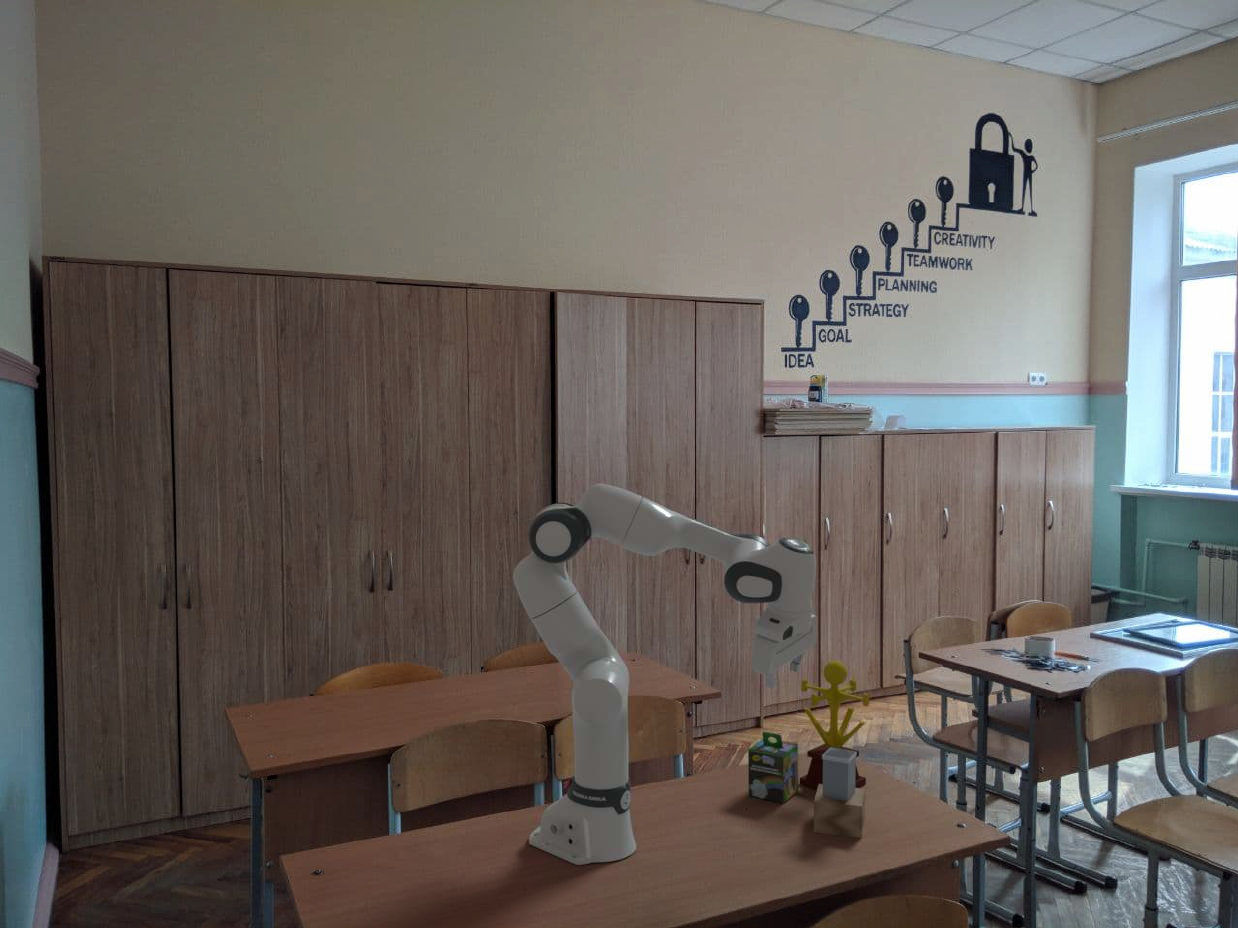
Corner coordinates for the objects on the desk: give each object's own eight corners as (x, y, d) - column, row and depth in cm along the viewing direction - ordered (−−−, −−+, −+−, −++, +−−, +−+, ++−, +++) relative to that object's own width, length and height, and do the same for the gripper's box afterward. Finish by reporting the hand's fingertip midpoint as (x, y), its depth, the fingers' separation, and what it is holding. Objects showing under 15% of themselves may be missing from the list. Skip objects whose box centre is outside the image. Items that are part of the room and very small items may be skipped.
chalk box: (799, 791, 232) (799, 729, 231) (783, 804, 224) (784, 740, 223) (762, 783, 237) (763, 723, 236) (746, 796, 229) (747, 733, 228)
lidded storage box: (821, 796, 211) (822, 755, 211) (830, 787, 216) (830, 747, 216) (848, 801, 208) (848, 759, 208) (856, 792, 213) (856, 751, 213)
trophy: (793, 772, 244) (794, 653, 242) (855, 772, 244) (857, 653, 242) (805, 795, 229) (806, 668, 228) (871, 795, 229) (873, 668, 228)
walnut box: (813, 832, 209) (814, 800, 209) (818, 814, 219) (818, 783, 219) (861, 838, 206) (862, 806, 206) (864, 819, 216) (865, 788, 216)
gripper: (801, 597, 208) (795, 655, 212) (748, 627, 193) (743, 690, 197) (828, 606, 205) (821, 665, 209) (776, 638, 189) (770, 701, 193)
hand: (783, 678), depth 203 cm, fingers open, 8 cm apart
